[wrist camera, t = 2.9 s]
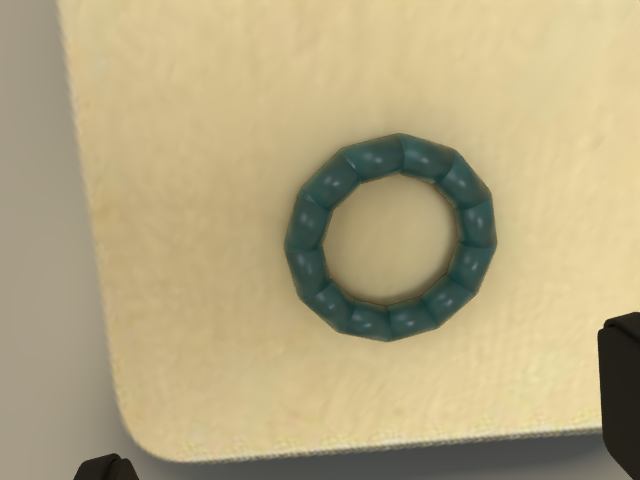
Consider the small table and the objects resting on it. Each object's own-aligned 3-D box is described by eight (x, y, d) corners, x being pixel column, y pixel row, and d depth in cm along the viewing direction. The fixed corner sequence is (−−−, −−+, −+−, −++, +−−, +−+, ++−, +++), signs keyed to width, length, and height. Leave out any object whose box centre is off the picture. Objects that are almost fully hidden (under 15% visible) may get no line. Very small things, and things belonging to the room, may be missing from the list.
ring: (313, 350, 20) (317, 369, 19) (261, 166, 18) (261, 173, 16) (495, 300, 20) (512, 315, 19) (471, 110, 18) (488, 113, 17)
